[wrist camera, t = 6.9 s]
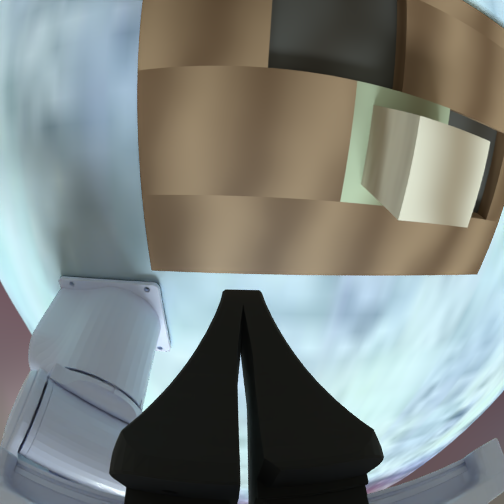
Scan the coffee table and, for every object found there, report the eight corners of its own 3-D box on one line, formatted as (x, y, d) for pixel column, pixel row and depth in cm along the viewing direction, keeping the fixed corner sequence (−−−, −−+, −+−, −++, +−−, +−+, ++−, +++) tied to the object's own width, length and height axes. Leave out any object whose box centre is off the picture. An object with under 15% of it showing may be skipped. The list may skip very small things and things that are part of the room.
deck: (156, 258, 21) (151, 270, 19) (158, -48, 9) (152, -57, 8) (468, 265, 22) (477, 274, 21) (514, 45, 11) (526, 47, 10)
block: (360, 184, 17) (398, 220, 12) (373, 104, 14) (420, 115, 10) (424, 193, 17) (467, 227, 13) (438, 123, 14) (490, 141, 10)
